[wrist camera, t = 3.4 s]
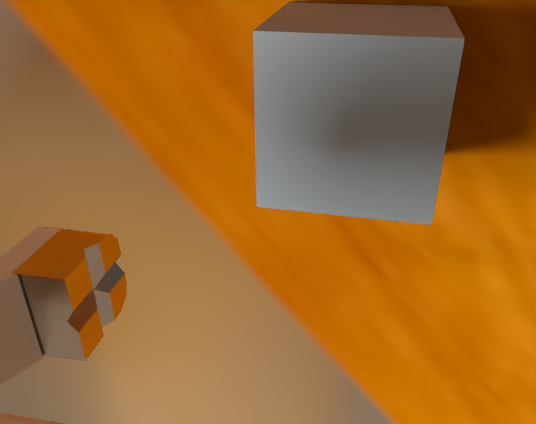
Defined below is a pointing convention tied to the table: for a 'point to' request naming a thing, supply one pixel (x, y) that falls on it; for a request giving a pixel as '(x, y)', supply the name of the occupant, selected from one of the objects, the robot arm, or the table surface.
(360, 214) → the block
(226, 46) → the table surface
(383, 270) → the table surface
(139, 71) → the table surface
